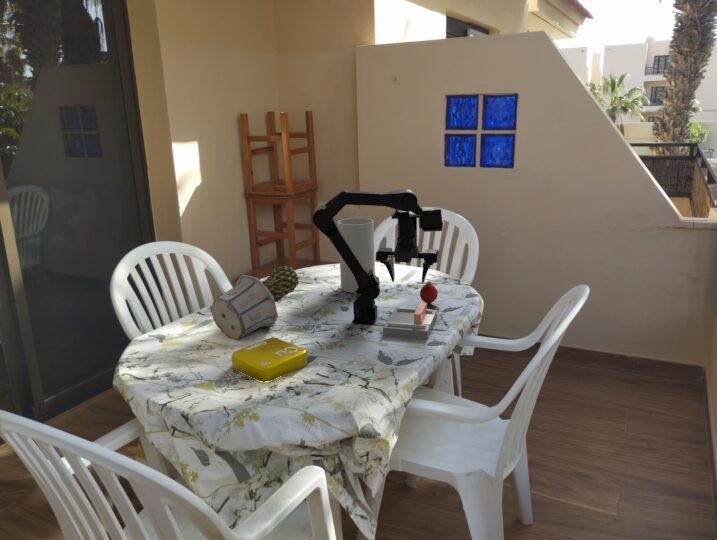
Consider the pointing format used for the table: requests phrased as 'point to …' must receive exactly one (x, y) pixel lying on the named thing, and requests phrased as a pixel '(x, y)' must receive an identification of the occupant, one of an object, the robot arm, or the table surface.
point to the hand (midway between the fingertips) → (408, 282)
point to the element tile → (269, 359)
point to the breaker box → (409, 324)
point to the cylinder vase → (357, 248)
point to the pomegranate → (428, 293)
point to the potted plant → (252, 302)
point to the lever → (420, 313)
